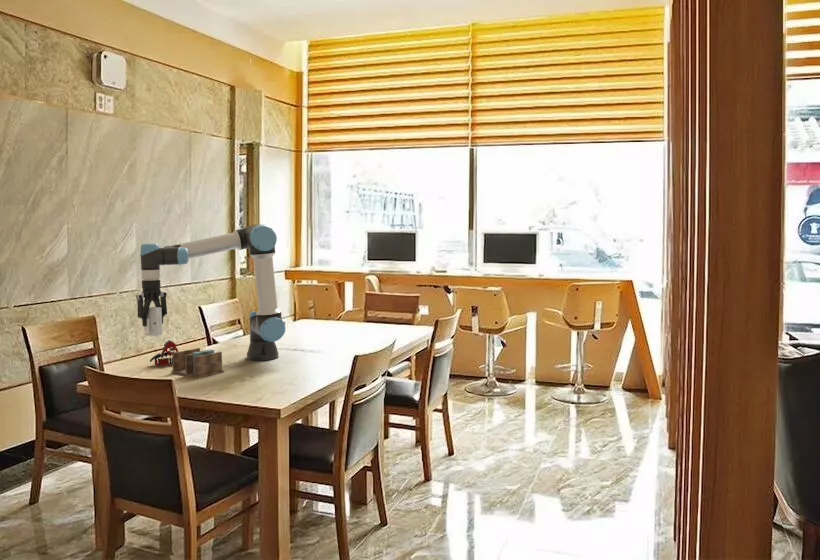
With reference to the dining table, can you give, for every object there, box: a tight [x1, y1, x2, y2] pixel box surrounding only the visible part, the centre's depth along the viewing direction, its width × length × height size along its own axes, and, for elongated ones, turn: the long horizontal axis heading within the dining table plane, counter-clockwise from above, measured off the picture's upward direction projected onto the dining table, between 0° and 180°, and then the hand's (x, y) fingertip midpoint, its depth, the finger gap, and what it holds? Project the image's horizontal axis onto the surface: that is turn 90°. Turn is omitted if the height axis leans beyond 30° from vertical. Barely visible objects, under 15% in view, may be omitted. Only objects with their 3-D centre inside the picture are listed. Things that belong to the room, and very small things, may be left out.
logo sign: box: [149, 339, 179, 367], centre depth 330 cm, size 18×4×11 cm, turn 117°
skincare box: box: [144, 306, 163, 337], centre depth 307 cm, size 6×4×12 cm
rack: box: [171, 347, 225, 379], centre depth 312 cm, size 14×18×10 cm
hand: (153, 332), depth 308 cm, fingers closed on skincare box, 6 cm apart
